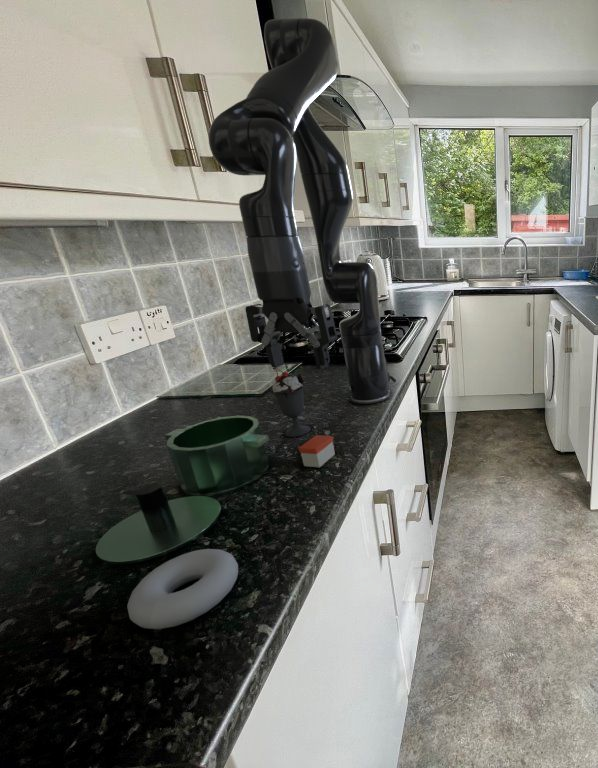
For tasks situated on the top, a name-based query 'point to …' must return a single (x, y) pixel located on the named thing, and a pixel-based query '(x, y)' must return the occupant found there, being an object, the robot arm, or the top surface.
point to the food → (317, 451)
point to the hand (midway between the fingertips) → (300, 366)
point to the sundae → (290, 400)
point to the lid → (157, 526)
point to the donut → (167, 609)
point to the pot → (218, 455)
